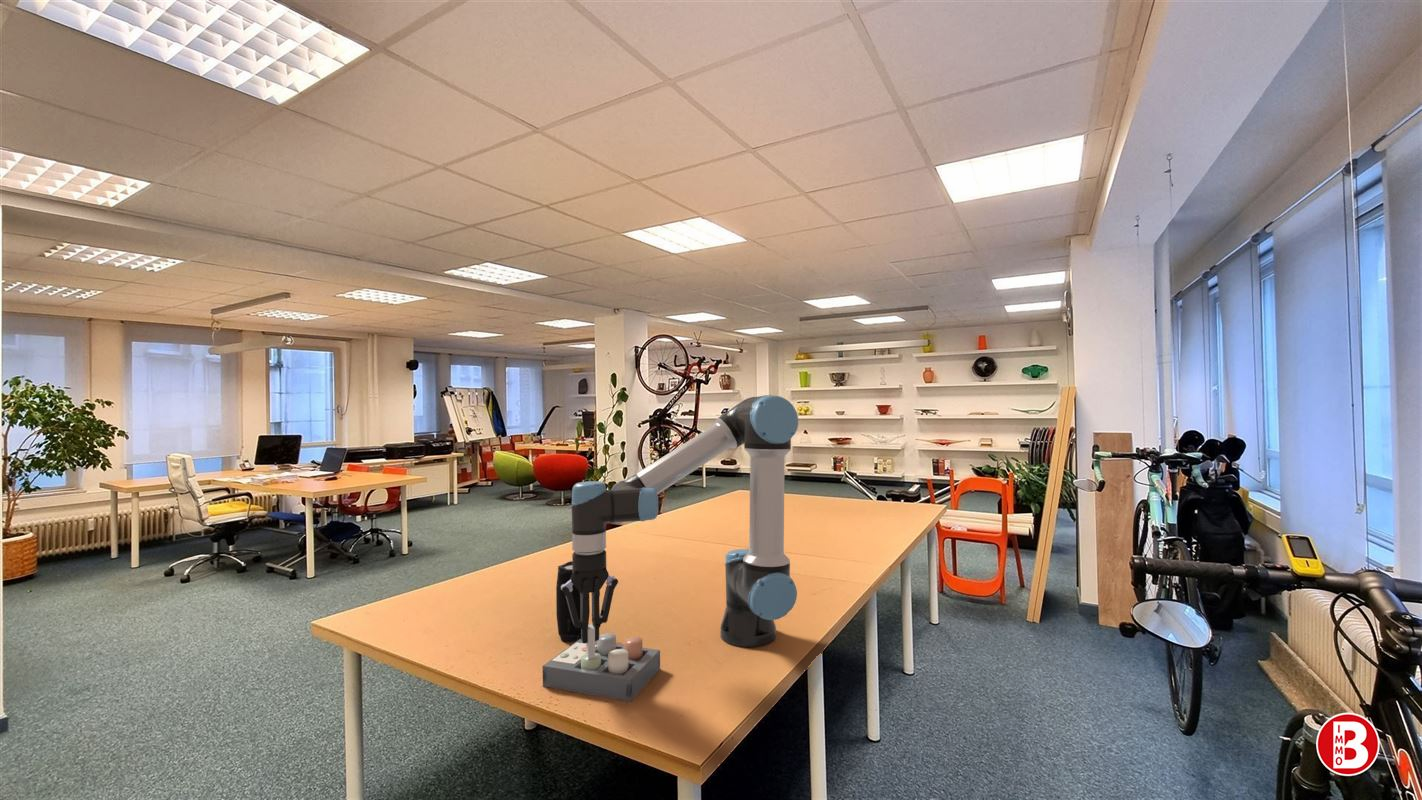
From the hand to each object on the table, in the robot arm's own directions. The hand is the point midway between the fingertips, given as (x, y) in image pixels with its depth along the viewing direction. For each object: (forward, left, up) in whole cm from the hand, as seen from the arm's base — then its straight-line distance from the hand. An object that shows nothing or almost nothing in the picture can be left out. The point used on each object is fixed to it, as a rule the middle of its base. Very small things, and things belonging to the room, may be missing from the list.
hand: (590, 655), depth 120 cm
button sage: (0, 0, -5) cm, 5 cm away
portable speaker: (+19, -22, -7) cm, 29 cm away
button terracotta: (-7, -7, -3) cm, 10 cm away
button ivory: (-7, 0, -3) cm, 8 cm away
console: (-1, -4, -6) cm, 7 cm away
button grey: (0, -7, -3) cm, 8 cm away
